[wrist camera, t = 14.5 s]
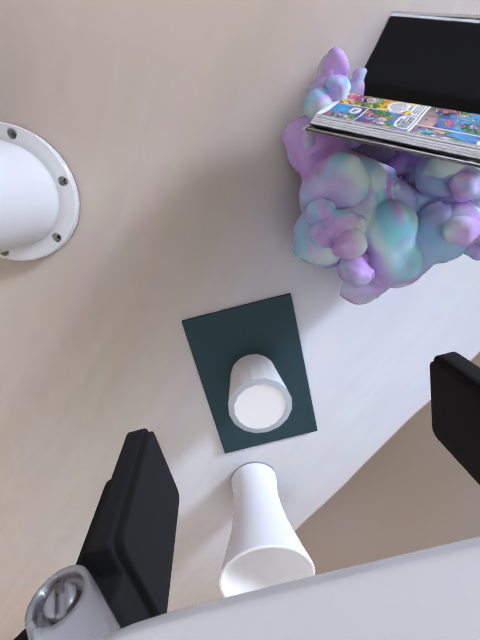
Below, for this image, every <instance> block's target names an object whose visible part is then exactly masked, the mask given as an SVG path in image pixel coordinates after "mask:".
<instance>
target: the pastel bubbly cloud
mask: <svg viewBox="0 0 480 640" xmlns="http://www.w3.org/2000/svg"><path fill="white" fill-rule="evenodd" d="M348 73H349V63H348V61H347V57H346V55H345V53H344V51H343V50H341V49H340V48H338V47H334V48H332V49H331V50H330V51H329V52H328V54H327V55H325V56H324V57H323V59H322V60H321V62H320V64H319V67H318V77H317V78H316V79H315V80H314V81H313V82H312V84H311V85H310V86H309V88H308V90H307V94H306V96H305V98H304V101H303V110H304V113H305V116H302V117H300V118H298V119H296V120H294V121H292V122H290V123H289V124H288V125H287V126H286V127H285V129H284V130H283V133H282V140H283V143H284V145H285V147H286V150H287V155H288V159H289V162H290V164H291V165H292V167H293V168H294V169H295V170H296V171H297V172H298V173H299V174H300V175H301V178H302V183H301V187H300V190H299V194H298V196H299V201H300V202H299V206H300V211H301V212H302V214H301V215H300V216H299V218H298V219H297V221H296V223H295V225H294V228H293V235H292V243H293V248H292V251H293V252H294V254H295V255H296V256H297V257H299V258H300V259H302V260H303V261H305V262H307V263H314V264H315V265H316V266H325V267H334V266H336V265H337V264H338V266H337V272H338V275H339V277H340V278H341V279H342V280H343V283H342V286H341V289H340V295H341V296H342V297H343V298H344V299H345V300H347V301H349V302H351V303H353V304H358V305H360V304H366V303H369V302H371V301H372V300H374V299H376V298H378V297H379V296H380V295H381V294H382V293H384V292H385V291H387V290H388V289H389V288H400V287H405V286H407V285H410V284H412V283H414V282H415V281H416V280H418V279H419V278H420V277H421V276H422V275H423V274H424V273H425V272H426V271H428V270H429V269H430V268H431V267H432V266H433V265H434V264H437V263H445V262H448V261H451V260H453V259H455V258H457V257H459V256H461V255H462V254H463V253H464V254H466V255H468V256H470V257H471V258H472V259H474V260H480V15H462V14H442V13H422V12H401V11H391V12H390V14H389V17H388V19H387V21H386V23H385V25H384V28H383V30H382V32H381V34H380V36H379V39H378V41H377V43H376V45H375V47H374V49H373V51H372V53H371V55H370V57H369V59H368V61H367V63H366V65H365V67H364V68H358V69H356V70H355V71H354V72H353V77H352V79H351V81H349V78H348V77H347V75H348ZM362 143H365V144H370V145H374V146H379V147H384V148H386V149H389V150H396V156H395V157H393V158H392V159H391V160H390V162H389V164H388V165H385V164H383V163H380V162H378V161H377V160H376V159H374V158H370V157H367V156H365V155H363V154H359V153H356V152H354V151H353V150H354V149H357V148H359V147H360V146H361V145H362ZM401 176H402V179H401V178H399V177H401Z"/></svg>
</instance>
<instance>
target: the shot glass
mask: <svg viewBox="0 0 480 640" xmlns="http://www.w3.org/2000/svg"><path fill="white" fill-rule="evenodd" d="M228 407H229V415H230V417H231V419H232V420H233V422H234V424H235V425H237V426H238V427H240V428H241V429H243V430H244V431H249V432H253V433H262V432H269V431H271V430H273V429H275V428H278V427H279V426H280V425H281V424H283V423H284V422H285V421H286V420H287V419H288V416H289V414H290V412H291V410H292V398H291V396H290V394H289V392H288V390H287V388H286V386H285V384H284V383H283V381H282V379H281V377H280V376H279V374H278V372H277V370H276V368H275V367H274V365H273V363H272V361H270V360H269V359H268V358H267V357H265V356H262V355H259V354H251V355H246V356H244V357H242V358H240V359H239V360H238V361H237V362H236V363H235V364H234V366H233V368H232V371H231V378H230V390H229V402H228Z"/></svg>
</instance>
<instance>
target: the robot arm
mask: <svg viewBox="0 0 480 640" xmlns="http://www.w3.org/2000/svg"><path fill="white" fill-rule="evenodd" d="M15 133H16V134H17V136H16V138H15V136H14V134H15ZM65 179H67V182H68V183H67V184H65V183H64V180H65ZM78 217H79V196H78V190H77V187H76V184H75V181H74V178H73V175H72V174H71V172H70V170H69V168H68V166H67V164H66V163H65V162H64V160H63V159H62V158H61V156H60V155H59V154H58V152H57V151H56V150H54V149H53V148H52V147H51V146H50V145H49V144H48V143H47V142H46V141H44V140H43V139H41V138H40V137H39V136H37V135H36V134H34V133H32V132H30V131H28V130H26V129H23V128H21V127H19V126H16V125H13V124H9V123H3V122H0V258H4V259H9V260H14V261H29V260H35V259H40V258H43V257H45V256H48V255H50V254H52V253H54V252H56V251H57V250H59V249H60V248H61V247H62V246H64V245H65V244H66V242H67V241H68V240H69V239H70V237H71V236H72V234H73V232H74V230H75V228H76V225H77V221H78ZM58 235H60V236H61V239H59V238H58ZM8 251H9V252H8ZM430 382H431V407H432V428H433V431H434V434H435V436H436V437H437V439H438V440H439V441H440V442H441V443H442V444H443V445H444V446H445V447H446V449H447V450H448V451H449V452H450V453H451V454H452V455H453V456H454V457H455V458H456V459H457V461H458V462H459V463H460V464H461V465H462V466H463V467H464V468H465V469H466V470H467V472H468V473H469V474H470V475H471V476H472V477H473V478H474V479H475V480H476V481H477V483H478V484H479V485H480V368H479V367H478V366H476V365H475V364H473V363H472V362H470V361H469V360H467V359H466V358H464V357H463V356H461V355H460V354H458V353H456V352H450V353H446V354H442V355H438V356H436V357H435V358H434V361H433V362H431V363H430ZM178 507H179V493H178V489H177V487H176V484H175V482H174V480H173V477H172V475H171V472H170V470H169V468H168V465H167V463H166V460H165V458H164V455H163V453H162V451H161V448H160V446H159V443H158V441H157V439H156V436H155V434H154V432H152V431H151V432H148V430H147V429H141V430H137V431H133V432H129V433H128V434H127V436H126V439H125V442H124V444H123V447H122V450H121V453H120V456H119V459H118V461H117V464H116V467H115V470H114V473H113V475H112V478H111V480H109V481H108V482H107V483H106V485H105V487H104V490H103V493H102V495H101V498H100V501H99V503H98V506H97V509H96V511H95V514H94V517H93V520H92V522H91V525H90V528H89V530H88V533H87V536H86V539H85V541H84V544H83V547H82V549H81V552H80V555H79V557H78V560H77V563H76V565H72V566H68V567H66V568H64V569H61V570H59V571H58V572H56V573H55V574H54V575H52V576H51V577H50V578H49V579H48V580H47V581H46V582H45V583H44V584H43V585H42V586H41V587H40V588H39V589H38V591H37V592H36V593H35V595H34V596H33V598H32V600H31V602H30V604H29V606H28V608H27V612H26V616H25V629H24V630H23V631H22V632H21V633H20V634H19V635H18V636H17V637H16V638H15V639H14V640H480V537H476V538H471V539H467V540H463V541H458V542H454V543H450V544H446V545H441V546H437V547H433V548H428V549H424V550H420V551H416V552H411V553H407V554H404V555H399V556H394V557H390V558H386V559H382V560H378V561H373V562H370V563H365V564H361V565H357V566H353V567H348V568H344V569H340V570H336V571H332V572H328V573H324V574H319V575H315V576H311V577H307V578H303V579H299V580H295V581H290V582H286V583H282V584H278V585H274V586H270V587H266V588H262V589H258V590H254V591H250V592H246V593H242V594H238V595H233V596H229V597H225V598H221V599H217V600H214V601H210V602H206V603H202V604H199V605H195V606H191V607H187V608H184V609H180V610H176V611H172V612H169V613H167V606H168V597H169V588H170V579H171V570H172V561H173V552H174V543H175V534H176V525H177V516H178Z"/></svg>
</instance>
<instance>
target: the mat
mask: <svg viewBox="0 0 480 640" xmlns="http://www.w3.org/2000/svg"><path fill="white" fill-rule="evenodd" d="M182 324H183V327H184V330H185V333H186V336H187V339H188V342H189V345H190V348H191V351H192V354H193V357H194V360H195V364H196V367H197V370H198V373H199V376H200V379H201V382H202V385H203V388H204V391H205V394H206V397H207V400H208V403H209V406H210V409H211V412H212V415H213V418H214V421H215V424H216V427H217V430H218V433H219V437H220V440H221V443H222V446H223V449H224V452H225V453H228V452H232V451H236V450H240V449H245V448H249V447H253V446H257V445H261V444H265V443H269V442H273V441H277V440H281V439H285V438H289V437H293V436H297V435H301V434H305V433H309V432H314V431H317V426H316V421H315V416H314V411H313V406H312V401H311V396H310V390H309V385H308V380H307V375H306V370H305V365H304V359H303V354H302V349H301V344H300V339H299V334H298V328H297V323H296V318H295V313H294V308H293V303H292V297H291V294H286V295H282V296H278V297H274V298H270V299H266V300H262V301H258V302H254V303H250V304H246V305H242V306H238V307H234V308H230V309H226V310H222V311H219V312H215V313H211V314H207V315H203V316H199V317H195V318H191V319H187V320H183V321H182ZM251 354H259V355H262V356H265V357H267V358H268V359H269V360H270V361H272V363H273V365H274V367H275V368H276V370H277V372H278V374H279V376H280V377H281V379H282V381H283V383H284V384H285V386H286V388H287V390H288V392H289V394H290V396H291V398H292V410H291V412H290V414H289V416H288V419H287V420H286V421H285V422H284V423H283V424H281V425H280V426H279V427H278V428H275V429H273V430H271V431H269V432H262V433H253V432H249V431H244V430H243V429H241V428H240V427H238V426H237V425H235V424H234V422H233V420H232V419H231V417H230V415H229V407H228V402H229V390H230V378H231V371H232V368H233V366H234V364H235V363H236V362H237V361H238V360H239V359H240V358H242V357H244V356H246V355H251Z"/></svg>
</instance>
